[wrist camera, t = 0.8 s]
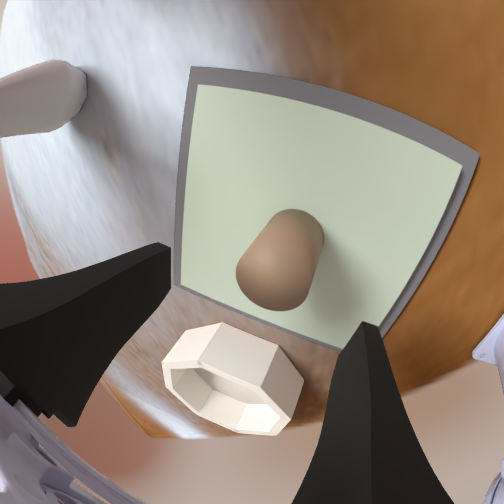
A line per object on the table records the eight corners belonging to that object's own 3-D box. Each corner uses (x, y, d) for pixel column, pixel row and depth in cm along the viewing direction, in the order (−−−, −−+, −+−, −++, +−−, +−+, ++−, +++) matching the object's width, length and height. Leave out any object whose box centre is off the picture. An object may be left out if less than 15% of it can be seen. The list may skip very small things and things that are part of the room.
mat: (477, 152, 9) (480, 153, 9) (365, 356, 17) (364, 359, 17) (194, 66, 12) (191, 66, 12) (175, 282, 20) (173, 284, 20)
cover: (458, 162, 9) (500, 192, 6) (358, 347, 17) (350, 404, 13) (204, 84, 12) (143, 83, 8) (185, 279, 19) (147, 320, 16)
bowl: (318, 359, 19) (305, 403, 16) (280, 412, 25) (267, 444, 22) (186, 305, 21) (158, 339, 18) (186, 372, 27) (167, 399, 24)
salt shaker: (104, 83, 14) (-74, 134, 3) (76, 138, 17) (-64, 204, 7) (75, 45, 13) (-73, 78, 2) (51, 98, 16) (-74, 144, 6)
